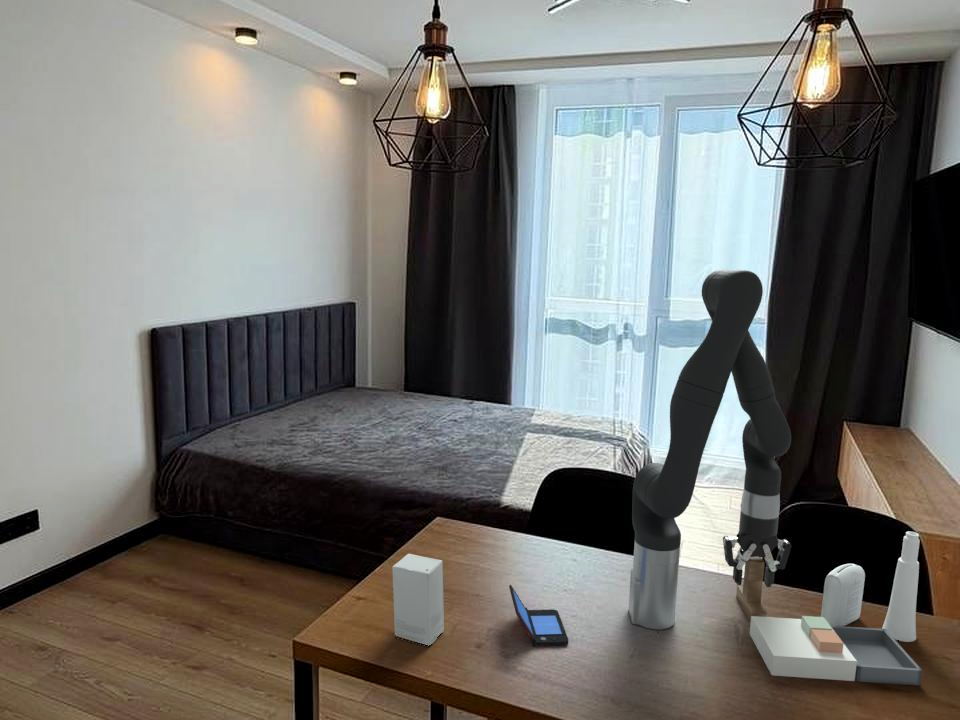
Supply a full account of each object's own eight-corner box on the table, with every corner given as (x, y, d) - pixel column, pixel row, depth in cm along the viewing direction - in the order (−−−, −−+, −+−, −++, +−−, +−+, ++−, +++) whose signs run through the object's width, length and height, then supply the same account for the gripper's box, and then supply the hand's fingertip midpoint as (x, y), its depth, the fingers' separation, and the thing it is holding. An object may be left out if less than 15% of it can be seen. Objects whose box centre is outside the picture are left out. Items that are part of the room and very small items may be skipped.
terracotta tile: (818, 651, 127) (820, 641, 127) (810, 638, 131) (811, 629, 131) (842, 653, 127) (843, 643, 127) (832, 640, 131) (834, 630, 131)
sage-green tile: (808, 637, 132) (810, 627, 132) (800, 625, 136) (801, 615, 136) (831, 638, 132) (832, 628, 131) (822, 626, 136) (823, 617, 135)
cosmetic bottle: (878, 623, 144) (891, 525, 141) (910, 628, 143) (924, 529, 139) (886, 639, 139) (900, 537, 135) (920, 644, 137) (935, 541, 133)
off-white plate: (771, 675, 126) (773, 655, 126) (749, 634, 140) (751, 616, 139) (854, 681, 125) (857, 661, 124) (824, 638, 138) (826, 620, 138)
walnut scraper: (750, 623, 144) (755, 570, 142) (736, 597, 155) (740, 547, 152) (765, 624, 143) (770, 571, 141) (749, 597, 154) (754, 548, 152)
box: (856, 681, 125) (858, 666, 125) (825, 638, 138) (827, 625, 138) (920, 685, 124) (922, 670, 124) (883, 642, 138) (885, 629, 137)
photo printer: (843, 609, 150) (849, 556, 148) (862, 618, 147) (869, 564, 144) (816, 622, 145) (822, 568, 142) (836, 632, 141) (843, 576, 139)
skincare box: (444, 632, 138) (445, 560, 136) (428, 649, 132) (429, 574, 130) (408, 621, 142) (408, 551, 139) (391, 638, 136) (391, 565, 133)
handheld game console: (569, 647, 134) (571, 612, 133) (515, 649, 133) (516, 614, 132) (557, 613, 147) (558, 581, 145) (507, 614, 146) (508, 582, 144)
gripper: (729, 515, 142) (723, 591, 145) (801, 519, 141) (793, 595, 144) (720, 502, 149) (714, 574, 152) (788, 505, 148) (781, 578, 151)
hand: (752, 584), depth 148 cm, fingers open, 5 cm apart
